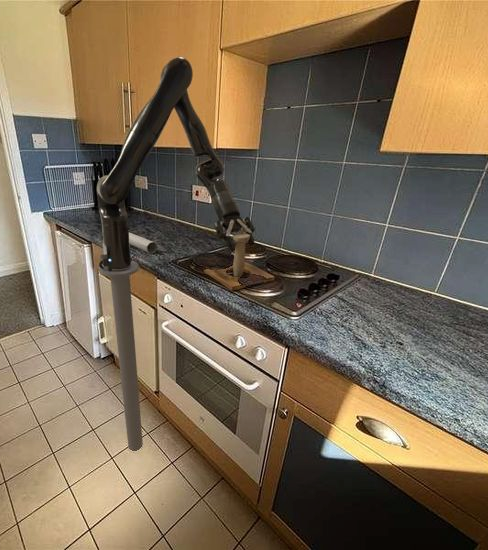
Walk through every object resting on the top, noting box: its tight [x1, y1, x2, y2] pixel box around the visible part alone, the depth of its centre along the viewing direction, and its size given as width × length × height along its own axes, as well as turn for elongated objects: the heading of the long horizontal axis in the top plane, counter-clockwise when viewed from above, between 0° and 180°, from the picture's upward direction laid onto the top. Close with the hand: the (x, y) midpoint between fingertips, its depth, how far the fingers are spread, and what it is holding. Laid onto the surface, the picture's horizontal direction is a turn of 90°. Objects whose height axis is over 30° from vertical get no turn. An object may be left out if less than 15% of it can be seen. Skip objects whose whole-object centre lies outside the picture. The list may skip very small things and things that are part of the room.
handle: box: [231, 233, 250, 277], centre depth 106 cm, size 5×6×15 cm
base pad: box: [203, 261, 275, 292], centre depth 108 cm, size 18×18×2 cm
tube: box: [129, 232, 158, 255], centre depth 138 cm, size 5×5×25 cm
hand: (242, 245), depth 103 cm, fingers open, 8 cm apart
